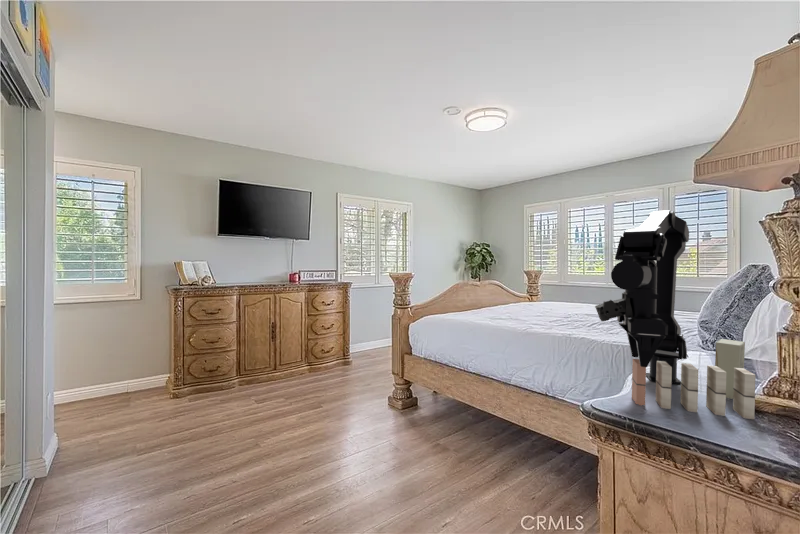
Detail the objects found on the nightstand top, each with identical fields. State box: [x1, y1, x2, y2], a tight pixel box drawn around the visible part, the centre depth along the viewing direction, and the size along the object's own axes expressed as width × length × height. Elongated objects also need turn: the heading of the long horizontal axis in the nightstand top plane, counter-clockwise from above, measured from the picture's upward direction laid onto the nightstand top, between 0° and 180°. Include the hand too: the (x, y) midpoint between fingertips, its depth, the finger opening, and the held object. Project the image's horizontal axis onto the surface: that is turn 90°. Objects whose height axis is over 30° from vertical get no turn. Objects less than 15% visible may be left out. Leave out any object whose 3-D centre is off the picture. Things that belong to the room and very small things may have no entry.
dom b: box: [655, 361, 672, 410], centre depth 84 cm, size 5×2×8 cm, turn 159°
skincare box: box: [714, 338, 746, 400], centre depth 90 cm, size 6×4×12 cm
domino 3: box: [732, 367, 756, 420], centre depth 79 cm, size 5×2×8 cm, turn 159°
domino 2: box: [680, 362, 699, 413], centre depth 82 cm, size 5×2×8 cm, turn 159°
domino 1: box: [631, 358, 647, 406], centre depth 85 cm, size 5×2×8 cm, turn 159°
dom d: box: [705, 364, 727, 417], centre depth 80 cm, size 5×2×8 cm, turn 159°
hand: (639, 361), depth 85 cm, fingers open, 9 cm apart
